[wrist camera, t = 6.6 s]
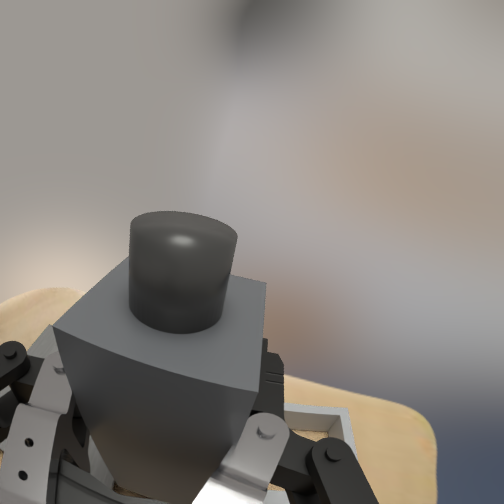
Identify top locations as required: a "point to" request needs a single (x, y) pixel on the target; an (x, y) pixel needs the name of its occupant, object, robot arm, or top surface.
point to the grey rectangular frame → (315, 420)
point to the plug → (166, 355)
